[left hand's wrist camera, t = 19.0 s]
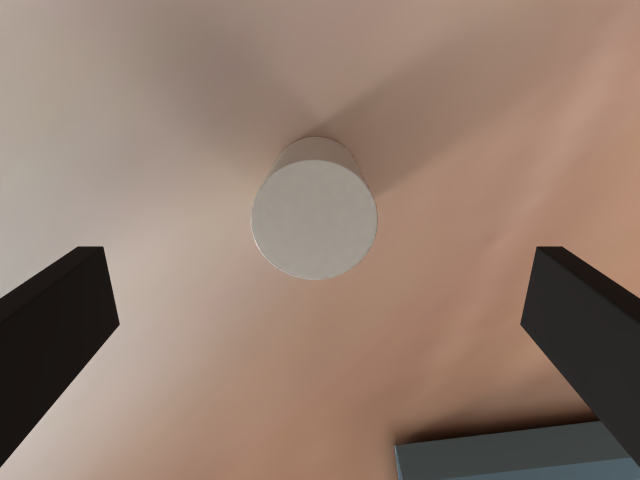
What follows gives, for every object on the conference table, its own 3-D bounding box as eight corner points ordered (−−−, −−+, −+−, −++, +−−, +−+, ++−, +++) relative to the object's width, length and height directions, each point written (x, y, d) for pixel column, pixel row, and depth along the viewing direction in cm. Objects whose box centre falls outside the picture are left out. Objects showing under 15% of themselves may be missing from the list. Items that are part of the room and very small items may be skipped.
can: (279, 229, 26) (263, 287, 19) (263, 143, 24) (238, 169, 17) (364, 218, 26) (383, 272, 19) (355, 130, 24) (371, 150, 17)
